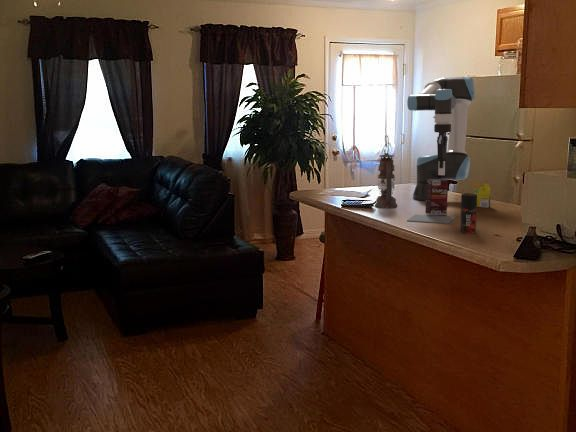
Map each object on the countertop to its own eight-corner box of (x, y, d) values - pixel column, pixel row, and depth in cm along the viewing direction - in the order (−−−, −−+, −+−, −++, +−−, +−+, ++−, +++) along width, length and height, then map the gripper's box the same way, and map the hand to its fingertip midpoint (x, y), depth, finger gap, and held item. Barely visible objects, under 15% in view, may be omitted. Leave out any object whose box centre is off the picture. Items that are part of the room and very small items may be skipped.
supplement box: (430, 215, 280) (431, 180, 278) (425, 214, 285) (426, 179, 283) (447, 215, 282) (448, 180, 280) (442, 213, 287) (443, 179, 285)
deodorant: (473, 230, 250) (474, 193, 247) (477, 233, 244) (479, 195, 242) (458, 230, 250) (459, 193, 247) (462, 233, 244) (464, 195, 241)
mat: (415, 215, 285) (415, 214, 284) (455, 217, 277) (455, 216, 277) (406, 221, 271) (407, 220, 271) (449, 223, 264) (449, 222, 264)
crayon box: (490, 207, 302) (491, 183, 300) (488, 207, 300) (489, 183, 297) (475, 205, 306) (475, 182, 304) (473, 206, 304) (474, 183, 301)
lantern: (393, 203, 318) (394, 134, 311) (400, 208, 302) (401, 136, 295) (372, 204, 317) (372, 134, 311) (378, 209, 301) (378, 136, 295)
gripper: (437, 123, 292) (436, 173, 296) (431, 124, 281) (430, 176, 285) (453, 123, 289) (452, 173, 293) (448, 124, 278) (447, 176, 282)
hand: (441, 175), depth 289 cm, fingers closed
